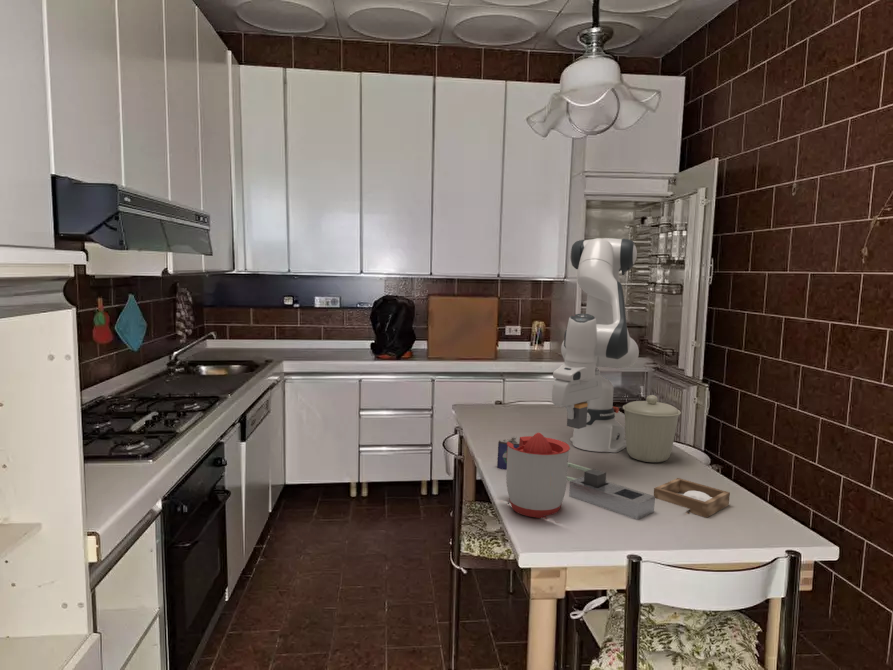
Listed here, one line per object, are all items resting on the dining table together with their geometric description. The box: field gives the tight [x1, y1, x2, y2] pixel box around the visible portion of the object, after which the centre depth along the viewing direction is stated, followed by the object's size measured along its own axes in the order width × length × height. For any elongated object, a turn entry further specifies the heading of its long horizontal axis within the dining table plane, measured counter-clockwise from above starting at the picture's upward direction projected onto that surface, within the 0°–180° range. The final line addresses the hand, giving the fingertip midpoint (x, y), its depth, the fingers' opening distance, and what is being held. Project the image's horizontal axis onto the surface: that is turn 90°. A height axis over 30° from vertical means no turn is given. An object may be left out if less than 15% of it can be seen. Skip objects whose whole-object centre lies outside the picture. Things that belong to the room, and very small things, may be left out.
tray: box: [567, 461, 592, 482], centre depth 184 cm, size 12×12×2 cm
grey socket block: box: [568, 475, 656, 520], centre depth 161 cm, size 8×20×5 cm, turn 43°
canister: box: [622, 394, 682, 463], centre depth 204 cm, size 18×18×21 cm
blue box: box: [496, 435, 519, 471], centre depth 187 cm, size 9×3×11 cm, turn 78°
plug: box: [566, 402, 588, 429], centre depth 182 cm, size 4×4×7 cm
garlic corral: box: [653, 477, 731, 519], centre depth 166 cm, size 13×14×4 cm
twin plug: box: [583, 468, 607, 488], centre depth 164 cm, size 4×4×7 cm
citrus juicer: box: [503, 432, 571, 519], centre depth 157 cm, size 16×17×20 cm
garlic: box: [682, 491, 712, 502], centre depth 164 cm, size 8×7×4 cm
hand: (576, 417), depth 182 cm, fingers closed on plug, 4 cm apart
